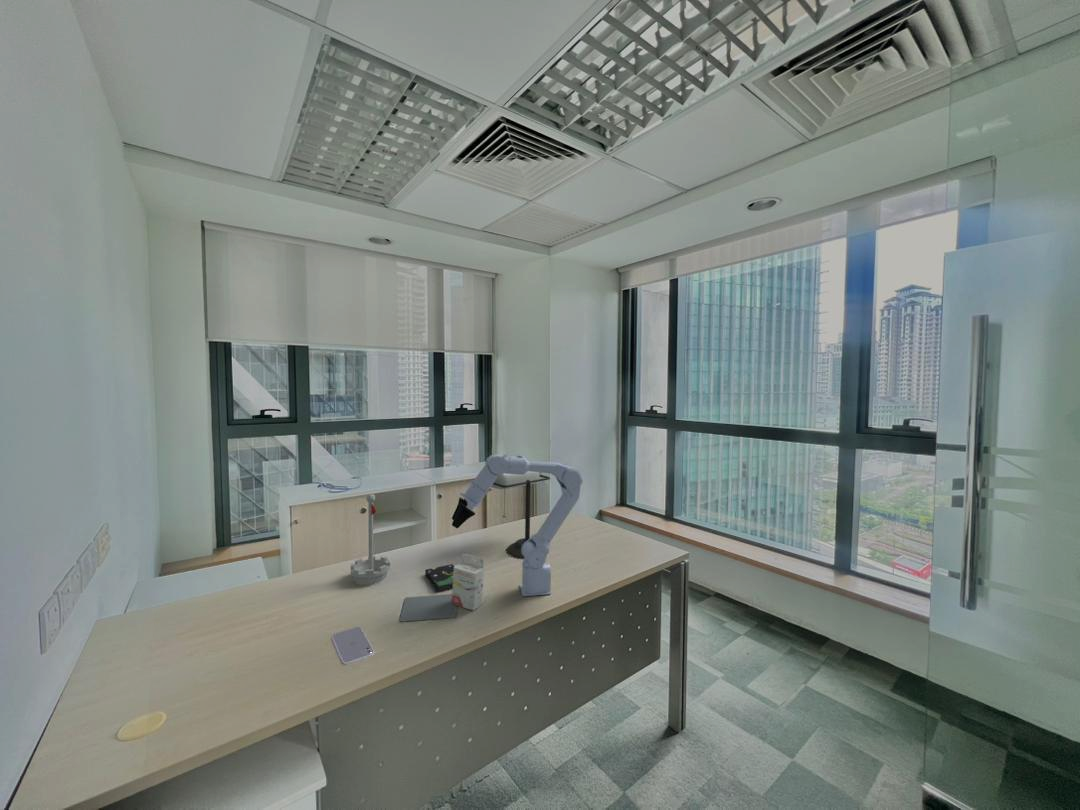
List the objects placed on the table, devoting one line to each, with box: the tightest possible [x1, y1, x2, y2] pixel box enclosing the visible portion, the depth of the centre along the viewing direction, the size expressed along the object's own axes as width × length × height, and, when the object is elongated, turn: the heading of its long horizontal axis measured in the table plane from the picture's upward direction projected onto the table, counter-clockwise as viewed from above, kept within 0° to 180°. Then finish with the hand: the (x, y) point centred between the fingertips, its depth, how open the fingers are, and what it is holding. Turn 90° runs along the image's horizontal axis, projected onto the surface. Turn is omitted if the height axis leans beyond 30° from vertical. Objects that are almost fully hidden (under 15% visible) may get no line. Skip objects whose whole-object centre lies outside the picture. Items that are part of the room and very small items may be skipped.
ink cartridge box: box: [451, 553, 485, 611], centre depth 133 cm, size 9×5×15 cm, turn 65°
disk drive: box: [424, 563, 456, 593], centre depth 150 cm, size 10×3×15 cm
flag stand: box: [350, 493, 391, 586], centre depth 150 cm, size 13×13×30 cm
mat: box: [399, 593, 457, 623], centre depth 131 cm, size 16×14×1 cm
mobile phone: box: [331, 626, 375, 664], centre depth 112 cm, size 8×1×15 cm
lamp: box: [491, 471, 551, 560], centre depth 179 cm, size 26×24×34 cm
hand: (454, 523), depth 135 cm, fingers open, 7 cm apart
